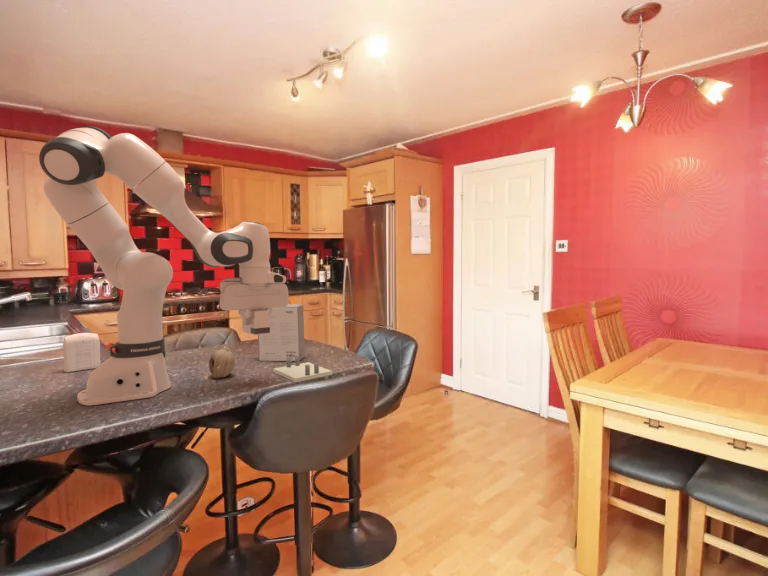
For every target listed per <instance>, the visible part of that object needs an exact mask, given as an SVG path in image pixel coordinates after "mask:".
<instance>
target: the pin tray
mask: <svg viewBox="0 0 768 576" xmlns="http://www.w3.org/2000/svg"><path fill="white" fill-rule="evenodd" d="M285 362H286V366H280V367H275V368H273V370H272V372H273V373H274V374H275V375H276V374H277V375H278V376H281V377H283V378H285V379H287V380H289V381H291V382H293V383H299V382H305V381H308V380H313V379H318V378H319V379H320V378H322V377H324V378H325V377H326V376H327V377H328V376H332V375H333V371H332V370H330V369H327V368H325V367H323V366H319V365H320V364H319V362H314V363H311V362H309V361H307V362H303V363H300V361H299V356H295V361H294V362H295V363H294V364H292V361H291V358H290V357H289V358H286V361H285Z"/></svg>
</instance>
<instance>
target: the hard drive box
mask: <svg viewBox="0 0 768 576" xmlns="http://www.w3.org/2000/svg"><path fill="white" fill-rule="evenodd" d="M262 309H265V308H262ZM304 319H305V318H304V304H288V305H287V306H286V307H274V308H272V312H271V314H270V316H269V327H270V333H269V334H264V335H257V343H258V344H257V349H258V362H259V361H260V362H262V361H263V362H287V361H286V358H289V357H290V358H291V362H295V356H299V362H300V361H301V360H303V359H304V358H305V357H306V355H305V353H306V352H305V348H306V347H305V320H304Z"/></svg>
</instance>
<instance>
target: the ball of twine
mask: <svg viewBox="0 0 768 576" xmlns="http://www.w3.org/2000/svg"><path fill="white" fill-rule="evenodd" d="M235 367H236V358H235V355H234V354H233V353H232V351H231V350H230V348H229V347H228V346H226V345H225V346H223V347H222V348H221V349H220V350H216V351H214V353H213V354H211V356H210V359H209V361H208V368H209V369H208V370H209V372H210V377H211V378H214V379H221V378H225V377H228V376H230V374H231V373H232V372H233V371H234V369H235Z"/></svg>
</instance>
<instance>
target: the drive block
mask: <svg viewBox="0 0 768 576" xmlns="http://www.w3.org/2000/svg"><path fill="white" fill-rule="evenodd" d="M244 315H245V316H246V318H248V319H250V321H249V322H250V324H249V325H243V324H242V332H243V333H247V334H249V335H251V336H258V335H264V334H269V333H270V327H269V310H266V309H262V308H259V309H246V313H244Z"/></svg>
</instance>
